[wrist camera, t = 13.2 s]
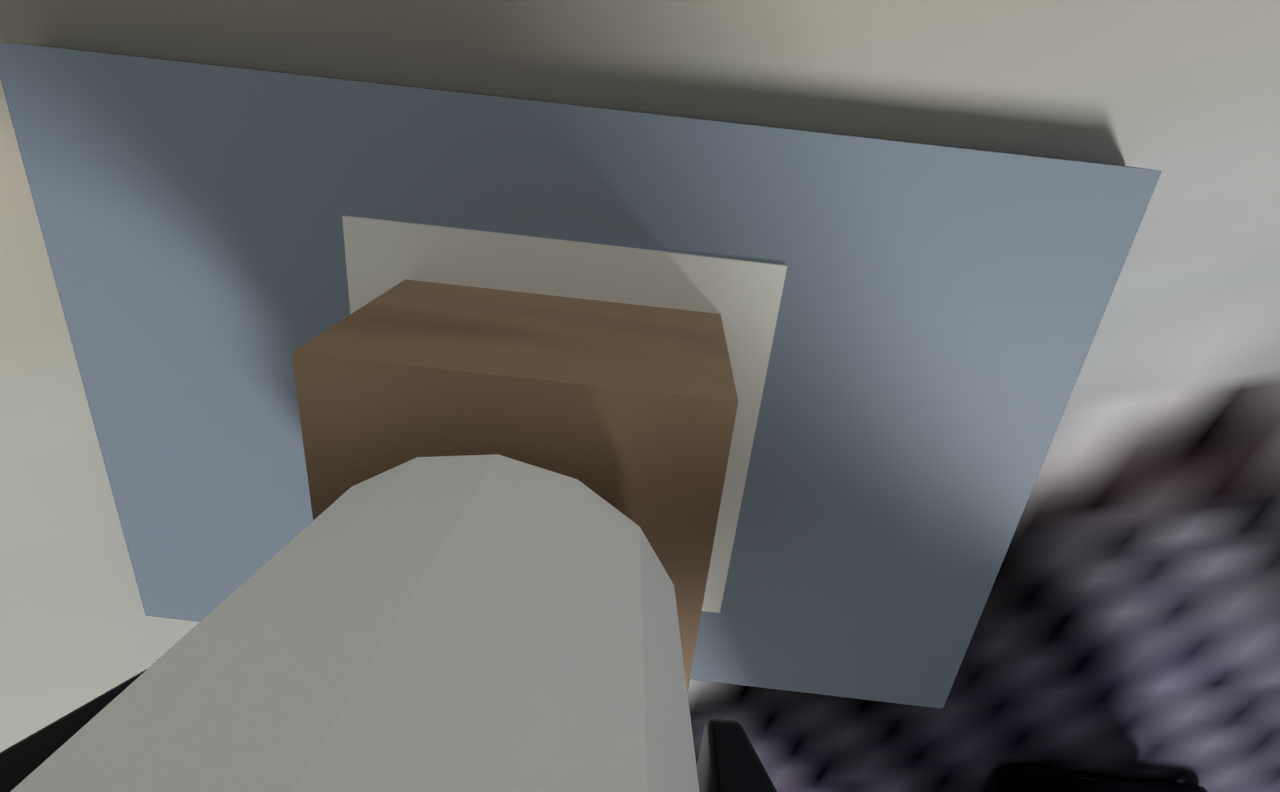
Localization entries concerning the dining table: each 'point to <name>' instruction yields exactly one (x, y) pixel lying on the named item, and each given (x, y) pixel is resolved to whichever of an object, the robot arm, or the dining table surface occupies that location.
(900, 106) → the dining table surface
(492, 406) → the walnut block
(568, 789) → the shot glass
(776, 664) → the board
